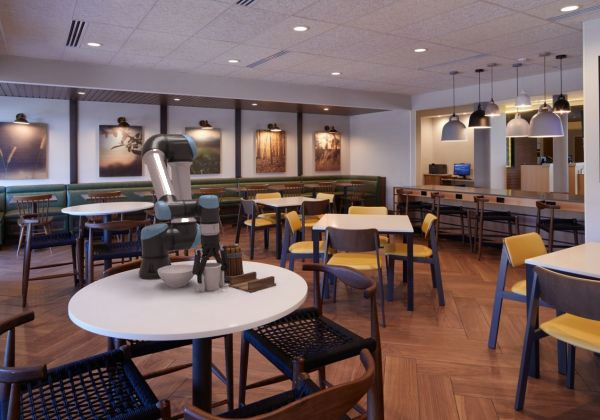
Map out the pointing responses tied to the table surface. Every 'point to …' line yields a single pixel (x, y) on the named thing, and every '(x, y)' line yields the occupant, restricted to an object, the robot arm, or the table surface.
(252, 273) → the rail stand
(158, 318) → the table surface
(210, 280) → the dixie cup
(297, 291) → the table surface
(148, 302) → the table surface
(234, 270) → the mug
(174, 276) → the bowl
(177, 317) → the table surface
